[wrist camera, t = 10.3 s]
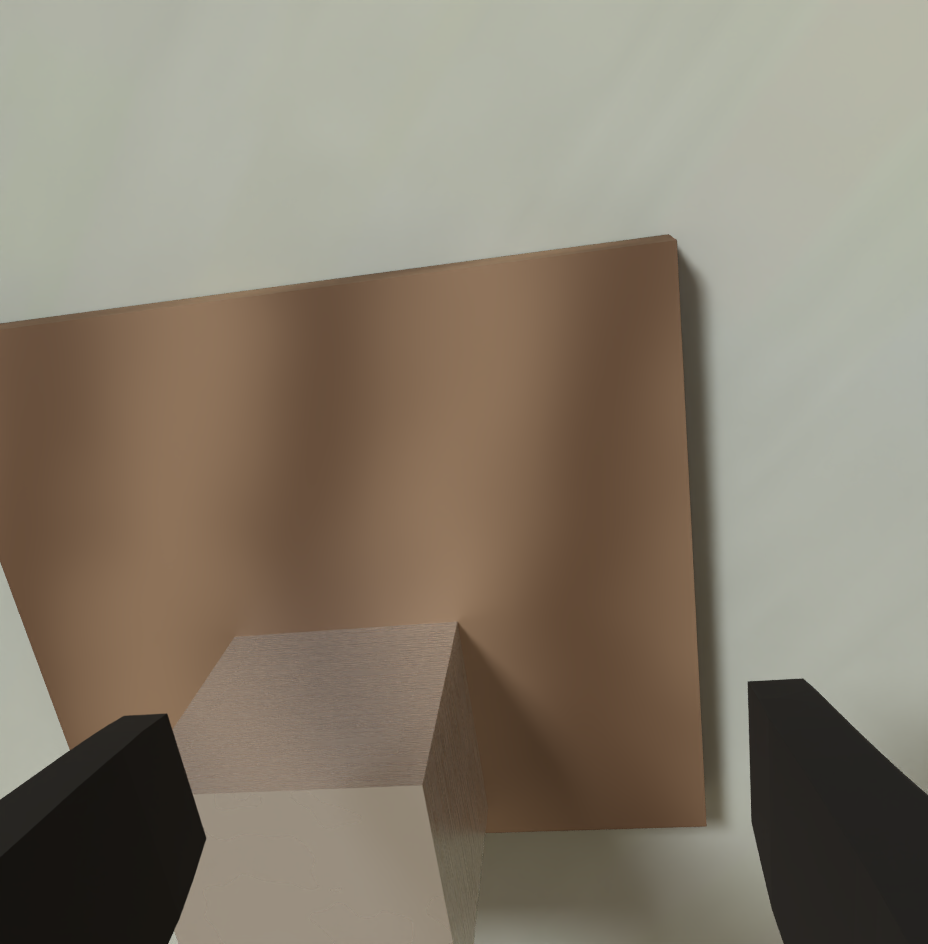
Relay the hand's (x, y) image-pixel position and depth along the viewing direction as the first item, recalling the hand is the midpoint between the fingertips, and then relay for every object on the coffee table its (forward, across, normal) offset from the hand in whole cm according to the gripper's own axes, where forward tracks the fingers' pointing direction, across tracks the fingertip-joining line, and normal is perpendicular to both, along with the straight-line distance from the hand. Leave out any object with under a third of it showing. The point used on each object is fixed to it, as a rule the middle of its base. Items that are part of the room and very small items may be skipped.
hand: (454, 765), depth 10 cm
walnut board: (+9, +4, +2) cm, 10 cm away
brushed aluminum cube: (+8, +4, +6) cm, 11 cm away
